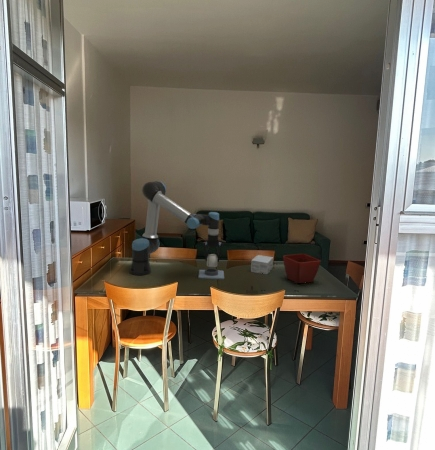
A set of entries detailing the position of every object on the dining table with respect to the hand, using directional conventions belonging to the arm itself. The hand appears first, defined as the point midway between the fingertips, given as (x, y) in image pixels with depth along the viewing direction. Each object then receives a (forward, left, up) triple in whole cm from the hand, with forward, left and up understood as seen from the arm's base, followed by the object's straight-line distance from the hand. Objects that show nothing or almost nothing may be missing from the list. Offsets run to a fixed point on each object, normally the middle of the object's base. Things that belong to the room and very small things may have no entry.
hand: (211, 265), depth 242 cm
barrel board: (0, 0, -7) cm, 7 cm away
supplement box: (+39, +17, -7) cm, 43 cm away
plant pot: (+63, -4, -7) cm, 63 cm away
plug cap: (0, 0, 0) cm, 0 cm away
